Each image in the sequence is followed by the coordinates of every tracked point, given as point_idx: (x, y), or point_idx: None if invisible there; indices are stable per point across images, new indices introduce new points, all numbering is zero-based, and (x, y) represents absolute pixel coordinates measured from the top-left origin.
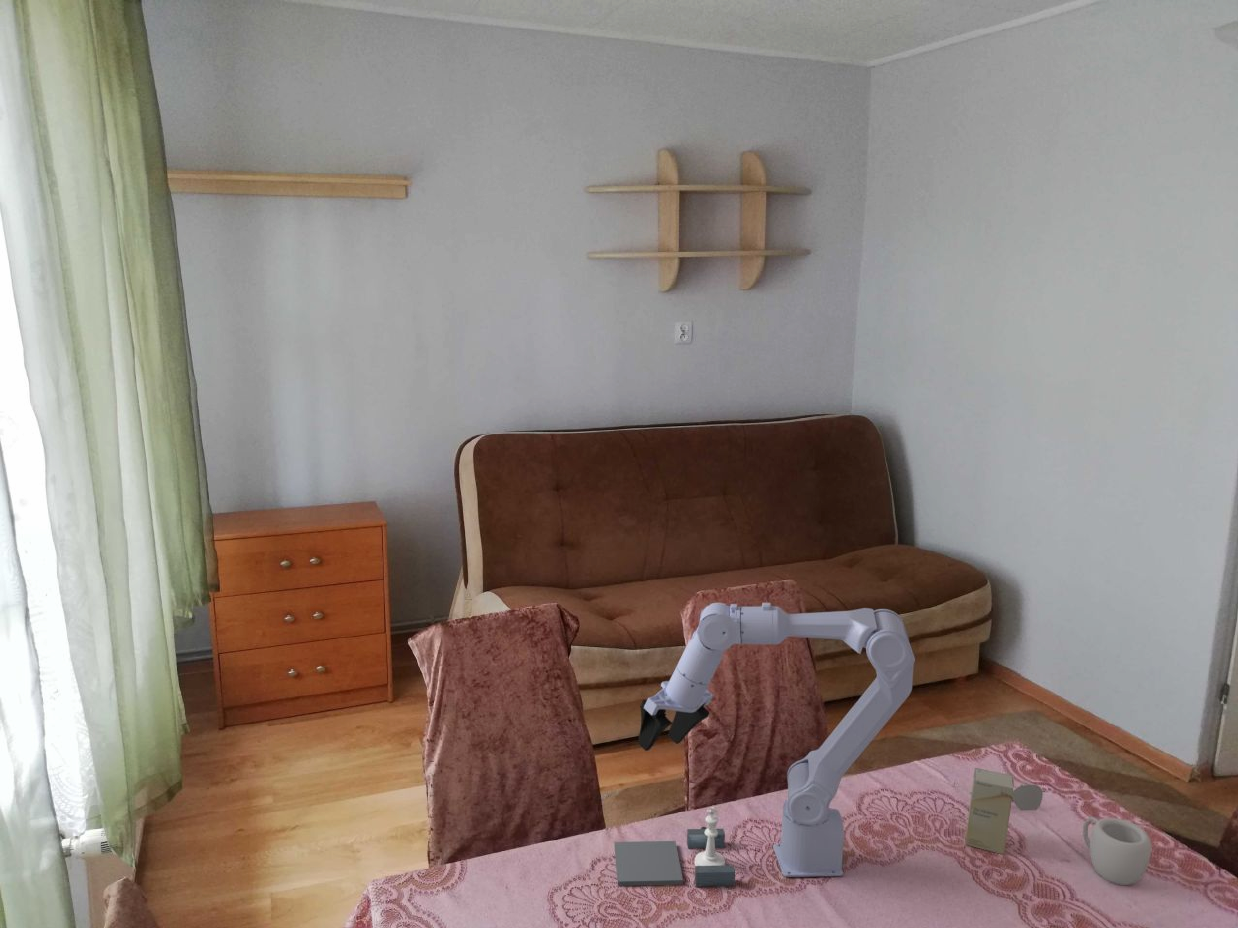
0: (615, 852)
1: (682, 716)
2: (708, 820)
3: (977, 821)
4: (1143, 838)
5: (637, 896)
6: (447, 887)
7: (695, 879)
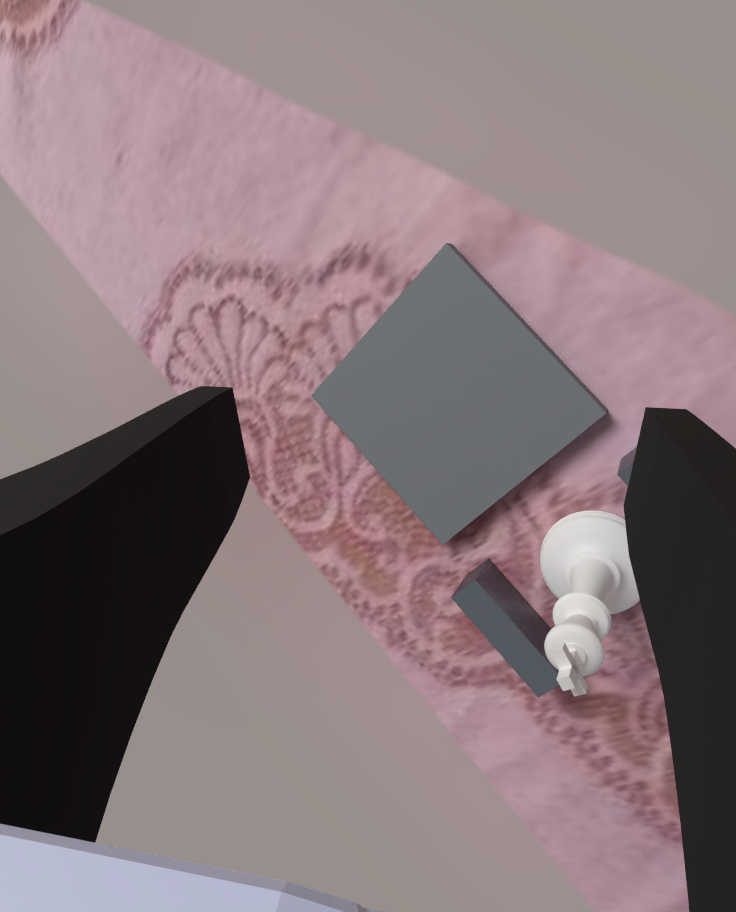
0: (407, 288)
1: (723, 662)
2: (548, 646)
3: None
4: None
5: (325, 462)
6: (20, 42)
7: (472, 573)
